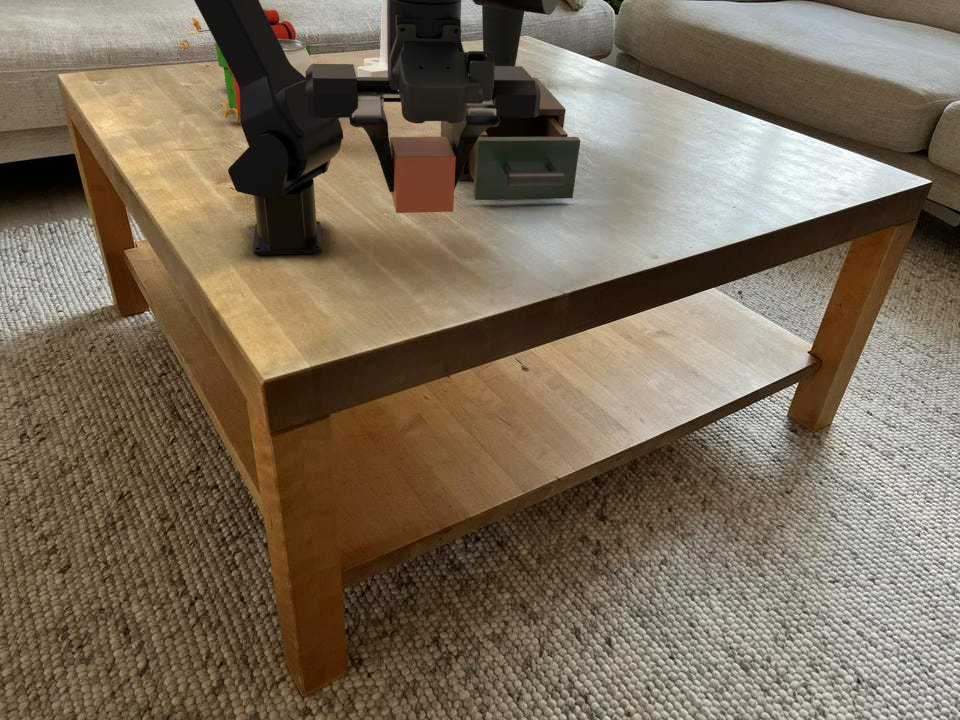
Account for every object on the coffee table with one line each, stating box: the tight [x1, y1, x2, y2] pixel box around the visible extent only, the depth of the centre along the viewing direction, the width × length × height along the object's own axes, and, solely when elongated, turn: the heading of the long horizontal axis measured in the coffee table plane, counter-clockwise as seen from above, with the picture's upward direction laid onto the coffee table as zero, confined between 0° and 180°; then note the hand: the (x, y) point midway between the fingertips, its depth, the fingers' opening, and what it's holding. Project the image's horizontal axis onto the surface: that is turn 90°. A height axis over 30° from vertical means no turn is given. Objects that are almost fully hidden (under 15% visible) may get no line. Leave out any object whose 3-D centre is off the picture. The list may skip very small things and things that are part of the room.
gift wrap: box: [179, 9, 311, 124], centre depth 103 cm, size 20×19×14 cm
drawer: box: [465, 115, 581, 201], centre depth 88 cm, size 17×11×7 cm
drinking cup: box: [481, 5, 525, 66], centre depth 123 cm, size 8×8×20 cm
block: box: [389, 136, 456, 214], centre depth 67 cm, size 5×5×5 cm
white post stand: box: [357, 0, 388, 77], centre depth 122 cm, size 11×8×20 cm
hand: (421, 190), depth 67 cm, fingers closed on block, 5 cm apart
